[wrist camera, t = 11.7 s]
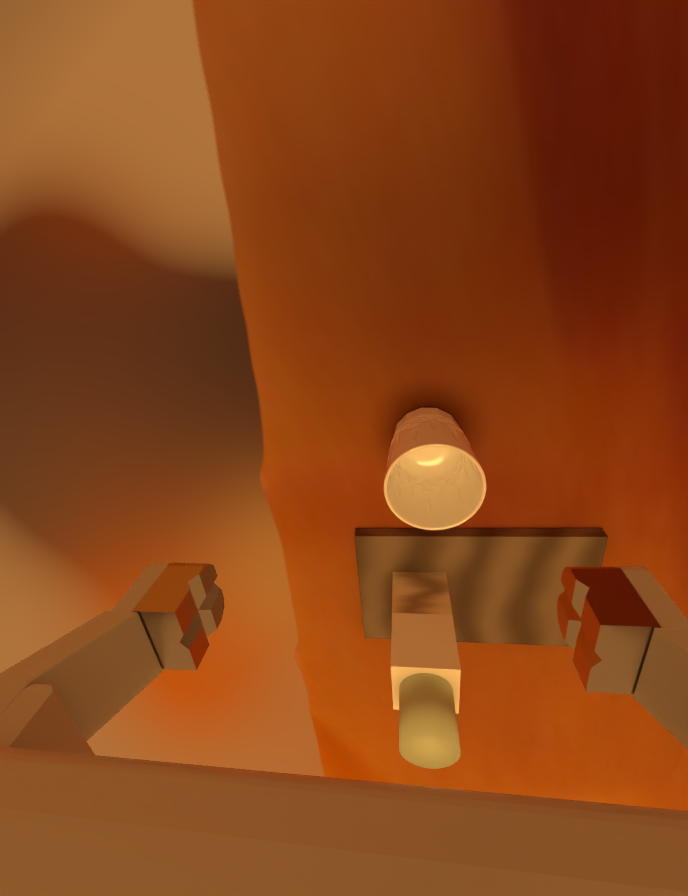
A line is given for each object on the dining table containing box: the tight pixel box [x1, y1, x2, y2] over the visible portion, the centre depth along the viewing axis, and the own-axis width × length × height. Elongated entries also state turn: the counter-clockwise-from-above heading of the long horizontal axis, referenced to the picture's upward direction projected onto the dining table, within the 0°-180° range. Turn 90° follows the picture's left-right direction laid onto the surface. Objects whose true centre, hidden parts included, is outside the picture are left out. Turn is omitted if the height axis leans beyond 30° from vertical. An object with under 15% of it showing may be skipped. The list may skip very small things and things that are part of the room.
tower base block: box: [392, 572, 452, 615], centre depth 45 cm, size 6×6×6 cm
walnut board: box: [355, 528, 608, 646], centre depth 47 cm, size 26×16×2 cm, turn 95°
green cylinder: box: [399, 673, 461, 769], centre depth 35 cm, size 5×5×5 cm
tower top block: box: [391, 613, 461, 714], centre depth 40 cm, size 6×6×6 cm
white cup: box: [384, 408, 486, 530], centre depth 36 cm, size 8×8×10 cm
